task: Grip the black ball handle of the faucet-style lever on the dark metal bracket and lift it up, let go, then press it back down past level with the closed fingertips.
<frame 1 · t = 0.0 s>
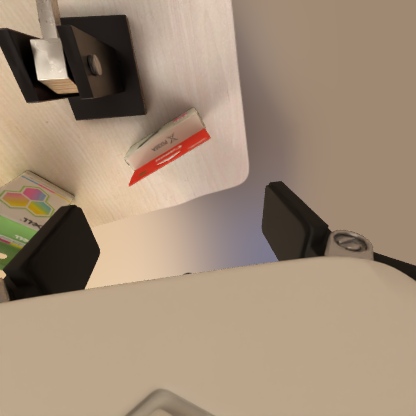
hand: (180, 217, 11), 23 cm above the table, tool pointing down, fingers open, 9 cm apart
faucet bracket: (101, 72, 26), on the table
ink box: (48, 191, 33), on the table
ink box 2: (165, 134, 31), on the table
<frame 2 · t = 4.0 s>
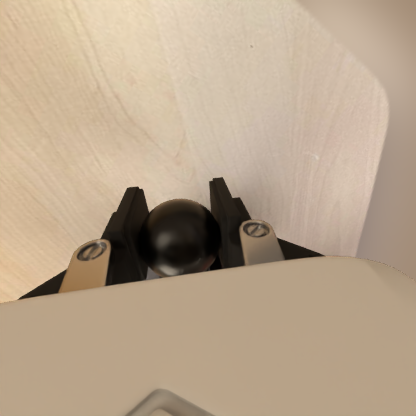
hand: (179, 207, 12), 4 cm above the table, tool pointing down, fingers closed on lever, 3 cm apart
lever: (193, 335, 10), point 9 cm above the table, hinge at -25.0°, touching gripper
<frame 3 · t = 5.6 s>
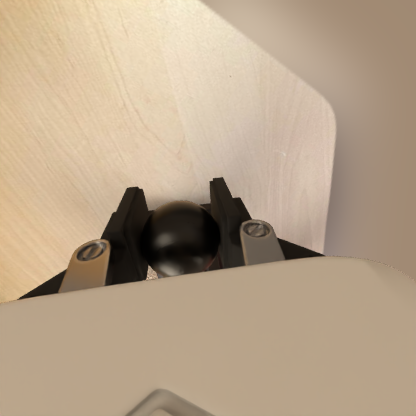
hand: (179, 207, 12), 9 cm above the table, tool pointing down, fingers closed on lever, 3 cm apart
lever: (191, 297, 12), point 11 cm above the table, hinge at 4.0°, touching gripper
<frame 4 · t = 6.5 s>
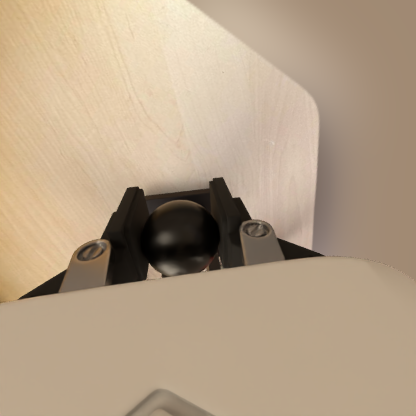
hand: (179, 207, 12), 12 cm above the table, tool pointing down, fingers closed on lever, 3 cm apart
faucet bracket: (188, 225, 27), on the table
lever: (189, 276, 13), point 13 cm above the table, hinge at 20.3°, touching gripper
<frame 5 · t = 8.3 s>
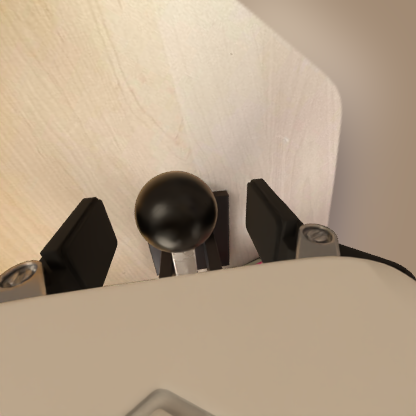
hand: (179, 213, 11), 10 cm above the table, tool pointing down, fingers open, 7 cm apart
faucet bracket: (188, 232, 24), on the table
lever: (188, 281, 12), point 11 cm above the table, hinge at 1.1°
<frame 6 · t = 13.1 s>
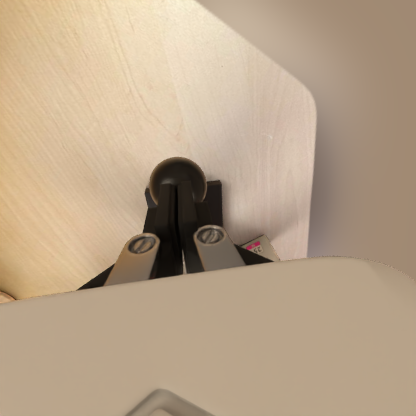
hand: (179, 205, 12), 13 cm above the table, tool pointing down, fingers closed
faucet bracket: (187, 217, 28), on the table
lever: (187, 243, 16), point 11 cm above the table, hinge at -0.4°, touching gripper
ink box 2: (235, 253, 33), on the table
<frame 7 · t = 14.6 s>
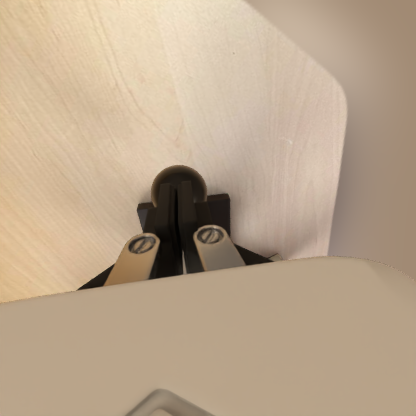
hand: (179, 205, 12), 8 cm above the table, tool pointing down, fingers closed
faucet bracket: (189, 236, 23), on the table
lever: (188, 265, 14), point 9 cm above the table, hinge at -27.7°, touching gripper
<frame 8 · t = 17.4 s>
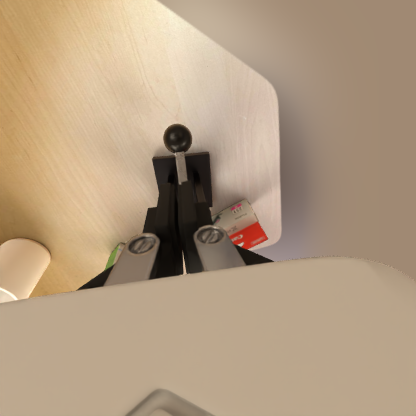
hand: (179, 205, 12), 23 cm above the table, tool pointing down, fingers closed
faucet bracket: (184, 182, 36), on the table
lever: (182, 177, 26), point 9 cm above the table, hinge at -27.7°
mug: (27, 256, 40), on the table
ink box 2: (222, 215, 41), on the table
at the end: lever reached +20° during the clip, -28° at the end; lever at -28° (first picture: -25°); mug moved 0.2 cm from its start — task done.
